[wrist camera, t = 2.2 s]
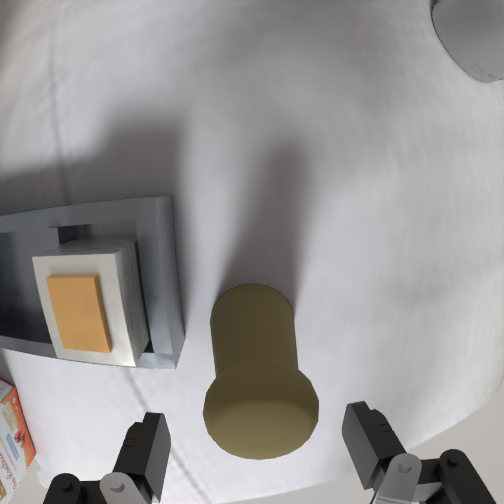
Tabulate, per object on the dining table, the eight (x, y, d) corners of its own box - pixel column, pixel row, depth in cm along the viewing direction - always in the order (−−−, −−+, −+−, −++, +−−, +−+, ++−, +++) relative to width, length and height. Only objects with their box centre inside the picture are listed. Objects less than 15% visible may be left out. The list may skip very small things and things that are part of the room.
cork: (193, 329, 21) (163, 442, 10) (245, 266, 20) (252, 357, 9) (258, 370, 22) (271, 486, 11) (310, 315, 21) (364, 420, 10)
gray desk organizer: (-11, 217, 18) (-69, 232, 11) (171, 195, 19) (133, 202, 11) (11, 326, 20) (-34, 362, 13) (185, 339, 21) (165, 404, 14)
